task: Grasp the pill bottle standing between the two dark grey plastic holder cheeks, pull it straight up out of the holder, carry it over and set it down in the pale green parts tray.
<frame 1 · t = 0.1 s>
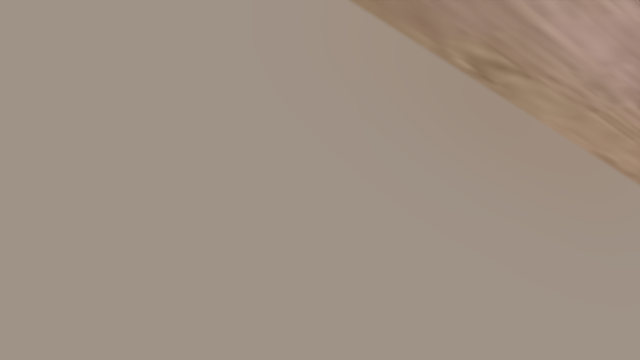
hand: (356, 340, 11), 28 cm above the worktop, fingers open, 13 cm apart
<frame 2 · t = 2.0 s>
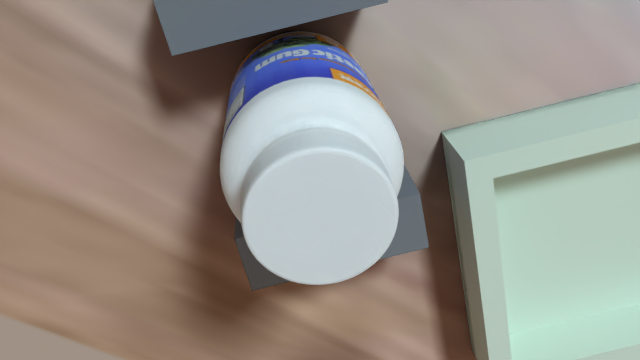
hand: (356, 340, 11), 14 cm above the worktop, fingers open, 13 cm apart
tray: (587, 220, 27), on the worktop
pill bottle: (298, 96, 24), on the worktop
holder: (298, 98, 23), on the worktop
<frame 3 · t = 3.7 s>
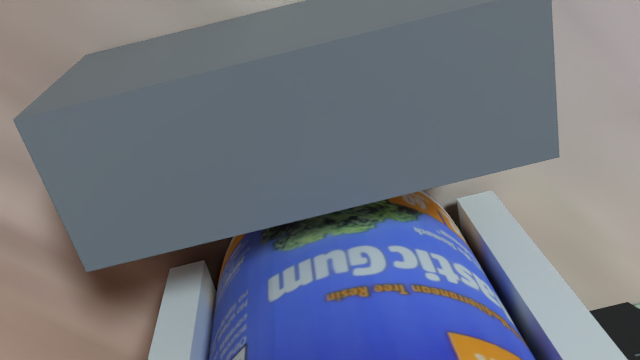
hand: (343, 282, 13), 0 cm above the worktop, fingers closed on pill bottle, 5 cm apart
pill bottle: (339, 268, 13), on the worktop, touching gripper
holder: (341, 273, 13), on the worktop
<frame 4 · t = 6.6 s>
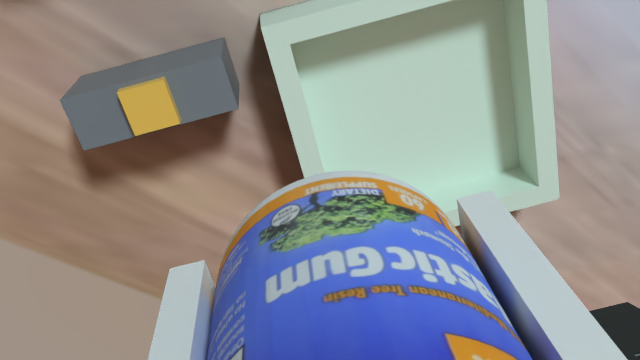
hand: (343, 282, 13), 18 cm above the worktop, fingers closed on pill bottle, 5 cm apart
tray: (409, 100, 30), on the worktop
pill bottle: (338, 269, 13), point 17 cm above the worktop, touching gripper
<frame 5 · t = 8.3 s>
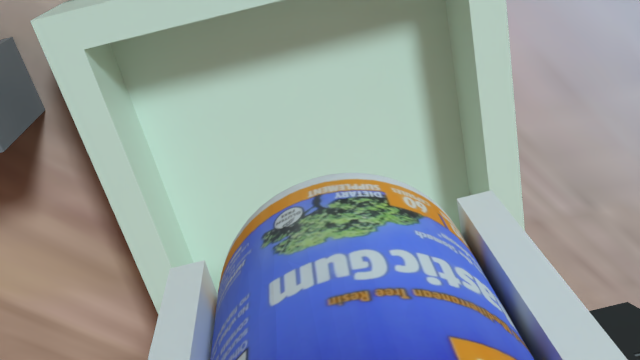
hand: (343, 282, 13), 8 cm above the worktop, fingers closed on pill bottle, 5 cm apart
tray: (308, 137, 20), on the worktop
pill bottle: (340, 271, 13), point 8 cm above the worktop, touching gripper
when the fingers open (3 cm above the worktop, at t = 9.4 s): pill bottle drops 2 cm, resting on tray.
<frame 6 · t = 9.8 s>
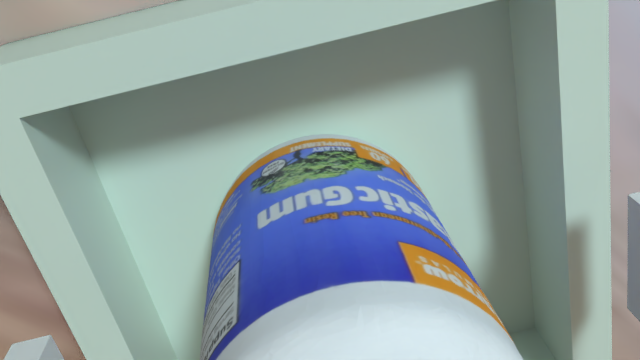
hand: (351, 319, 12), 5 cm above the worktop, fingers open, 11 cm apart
tray: (327, 211, 16), on the worktop
pill bottle: (318, 223, 16), resting on tray
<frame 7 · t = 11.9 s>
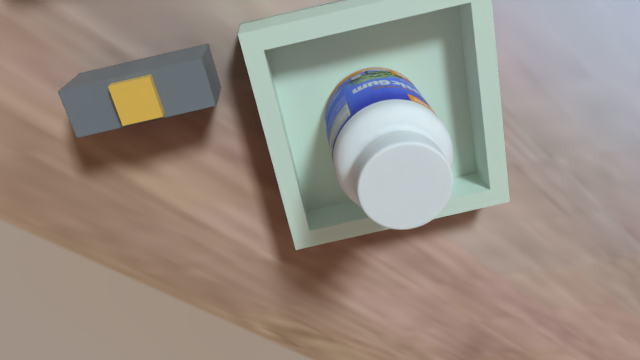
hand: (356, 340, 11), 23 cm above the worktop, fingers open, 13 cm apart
tray: (375, 107, 33), on the worktop
pill bottle: (371, 111, 33), resting on tray
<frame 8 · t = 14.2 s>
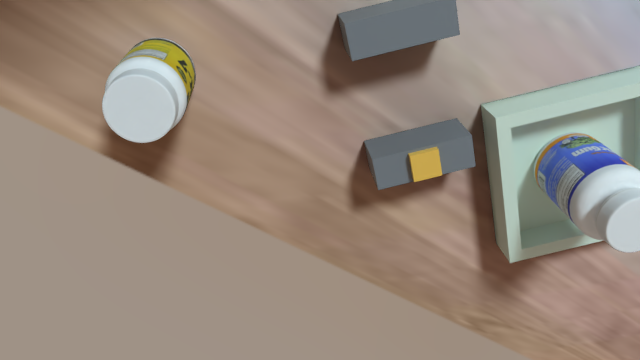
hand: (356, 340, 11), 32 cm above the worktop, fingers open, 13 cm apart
tray: (565, 159, 46), on the worktop
pill bottle: (564, 162, 46), resting on tray
holder: (402, 84, 42), on the worktop
supplement bottle: (161, 70, 41), on the worktop
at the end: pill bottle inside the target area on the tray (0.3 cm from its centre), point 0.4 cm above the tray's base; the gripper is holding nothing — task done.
